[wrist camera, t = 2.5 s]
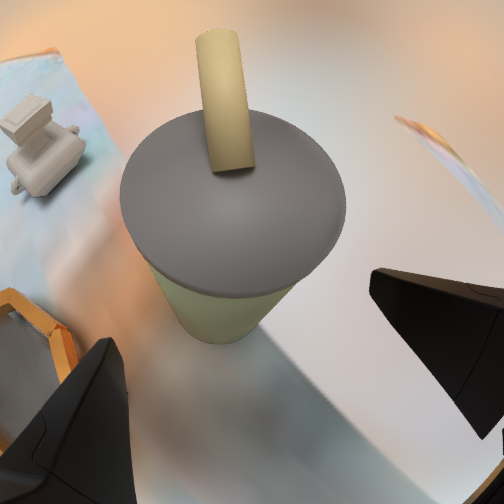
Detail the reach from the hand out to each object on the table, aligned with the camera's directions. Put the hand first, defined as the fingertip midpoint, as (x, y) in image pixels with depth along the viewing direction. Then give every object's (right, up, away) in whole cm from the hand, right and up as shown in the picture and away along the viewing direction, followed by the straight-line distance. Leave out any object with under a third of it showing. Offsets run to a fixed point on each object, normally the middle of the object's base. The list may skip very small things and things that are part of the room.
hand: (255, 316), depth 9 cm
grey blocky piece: (-19, +10, +13) cm, 25 cm away
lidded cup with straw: (-2, -1, +10) cm, 11 cm away
